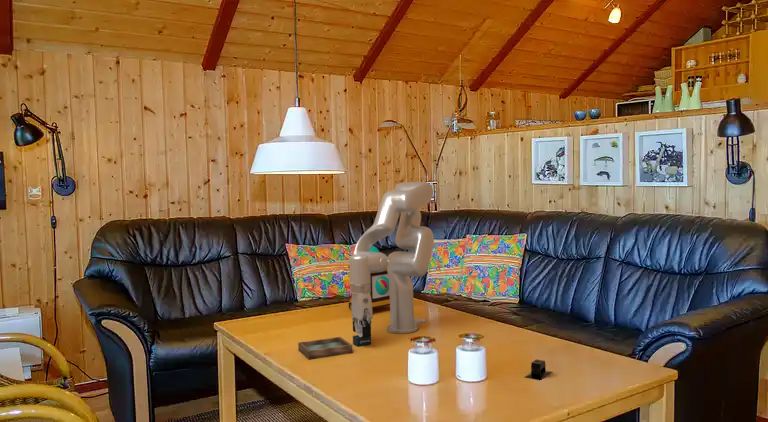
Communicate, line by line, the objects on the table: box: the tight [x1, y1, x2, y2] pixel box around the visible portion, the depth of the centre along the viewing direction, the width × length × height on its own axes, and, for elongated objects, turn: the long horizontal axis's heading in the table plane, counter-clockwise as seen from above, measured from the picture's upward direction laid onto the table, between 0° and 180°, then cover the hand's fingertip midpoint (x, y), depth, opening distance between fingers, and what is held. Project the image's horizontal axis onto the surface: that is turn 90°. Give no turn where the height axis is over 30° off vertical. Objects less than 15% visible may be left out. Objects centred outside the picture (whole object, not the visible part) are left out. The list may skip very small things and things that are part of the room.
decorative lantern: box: [347, 245, 390, 313], centre depth 281 cm, size 20×20×30 cm
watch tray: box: [297, 336, 353, 360], centre depth 214 cm, size 16×13×3 cm
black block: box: [523, 359, 554, 381], centre depth 182 cm, size 12×7×5 cm, turn 143°
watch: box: [352, 318, 372, 348], centre depth 221 cm, size 6×8×11 cm
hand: (361, 334), depth 221 cm, fingers open, 9 cm apart
